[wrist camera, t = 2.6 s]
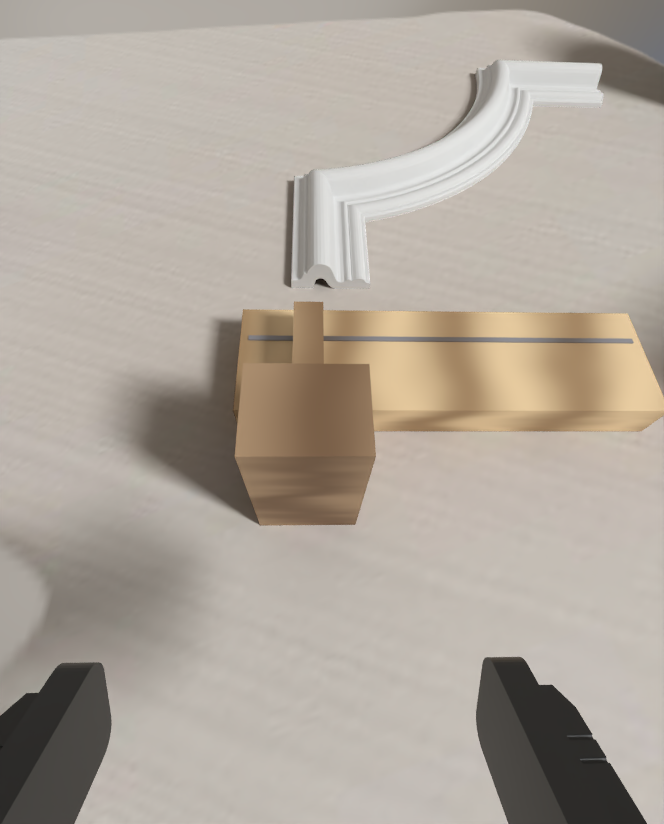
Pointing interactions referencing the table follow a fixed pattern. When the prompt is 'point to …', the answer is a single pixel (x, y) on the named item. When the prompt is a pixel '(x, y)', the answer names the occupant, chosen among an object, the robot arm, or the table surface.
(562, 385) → the plank
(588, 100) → the molding
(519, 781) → the robot arm
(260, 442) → the wooden block with tab
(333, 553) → the table surface
